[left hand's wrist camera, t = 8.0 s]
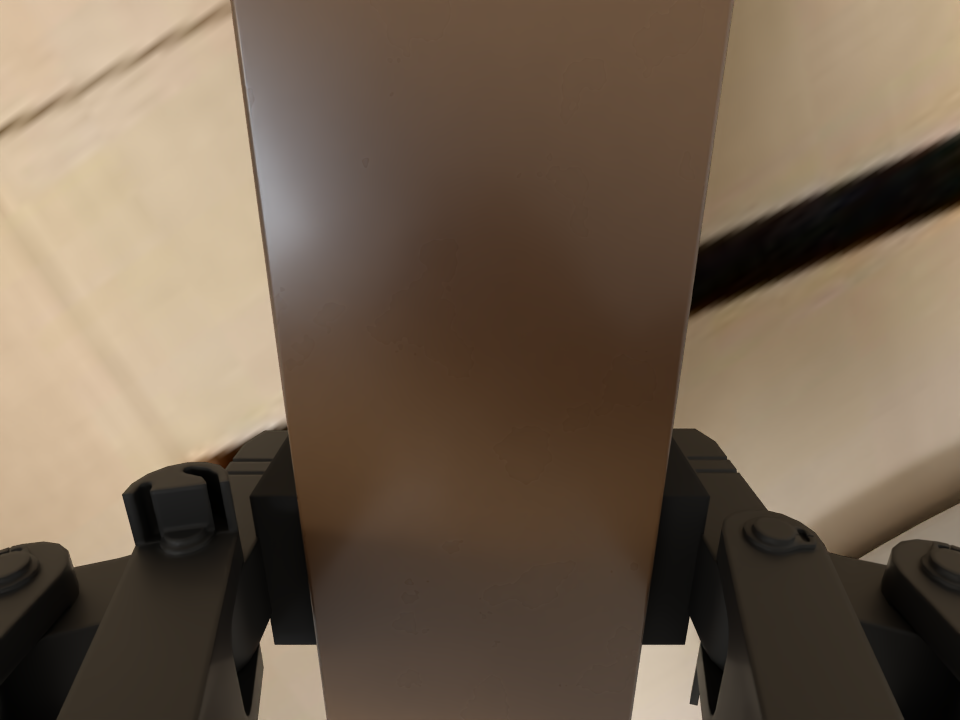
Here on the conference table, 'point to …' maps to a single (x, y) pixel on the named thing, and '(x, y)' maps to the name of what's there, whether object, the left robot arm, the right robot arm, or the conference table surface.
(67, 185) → the conference table surface
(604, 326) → the post
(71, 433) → the conference table surface
